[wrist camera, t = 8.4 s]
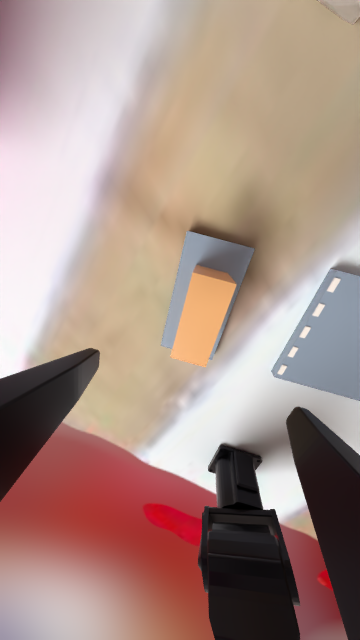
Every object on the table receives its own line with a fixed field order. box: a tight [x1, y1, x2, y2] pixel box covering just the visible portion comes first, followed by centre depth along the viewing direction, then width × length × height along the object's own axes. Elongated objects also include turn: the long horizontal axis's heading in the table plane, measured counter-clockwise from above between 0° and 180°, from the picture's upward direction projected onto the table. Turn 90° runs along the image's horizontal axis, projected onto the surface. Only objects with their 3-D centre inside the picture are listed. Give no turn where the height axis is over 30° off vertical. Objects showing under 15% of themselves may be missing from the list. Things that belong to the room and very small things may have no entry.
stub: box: [161, 231, 255, 367], centre depth 16 cm, size 12×6×6 cm, turn 166°
